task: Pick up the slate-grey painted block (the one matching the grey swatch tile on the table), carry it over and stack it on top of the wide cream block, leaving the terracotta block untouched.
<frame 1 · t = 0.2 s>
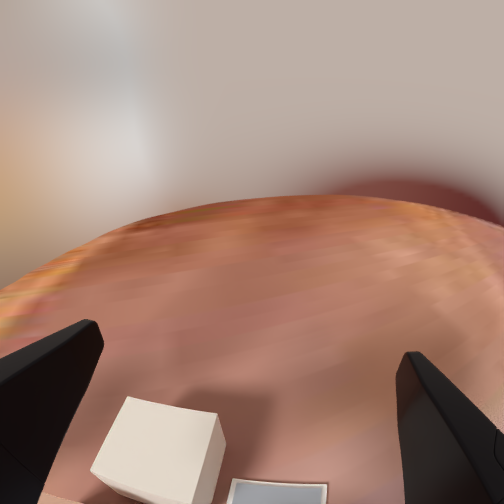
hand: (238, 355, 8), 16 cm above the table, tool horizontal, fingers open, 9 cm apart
cream block: (173, 472, 18), on the table
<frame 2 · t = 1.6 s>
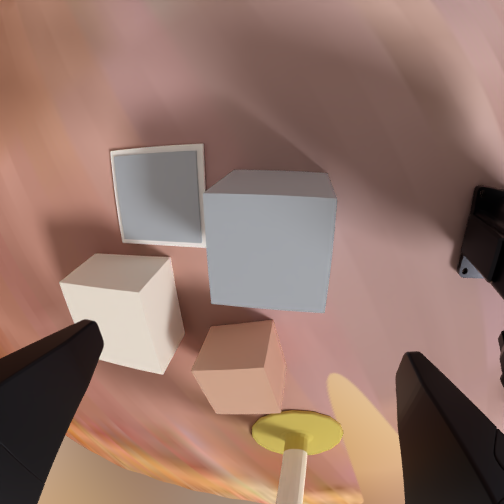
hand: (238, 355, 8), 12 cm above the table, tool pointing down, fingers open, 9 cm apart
swatch tile: (158, 197, 19), on the table
terracotta block: (250, 346, 23), on the table
grey block: (279, 214, 19), on the table
cream block: (140, 293, 23), on the table
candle: (297, 433, 28), on the table
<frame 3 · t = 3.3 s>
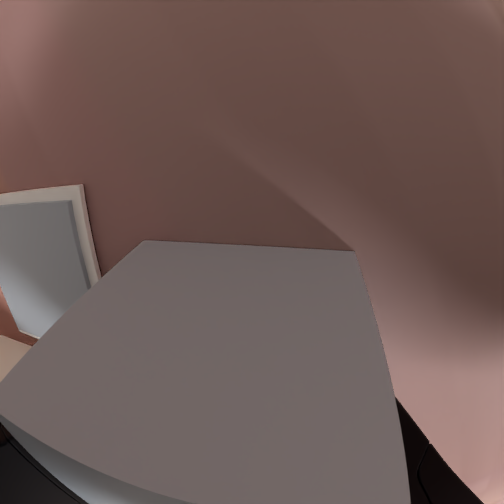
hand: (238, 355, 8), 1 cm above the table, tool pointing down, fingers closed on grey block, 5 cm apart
swatch tile: (39, 277, 9), on the table
grey block: (245, 331, 9), on the table, touching gripper
cream block: (61, 390, 13), on the table
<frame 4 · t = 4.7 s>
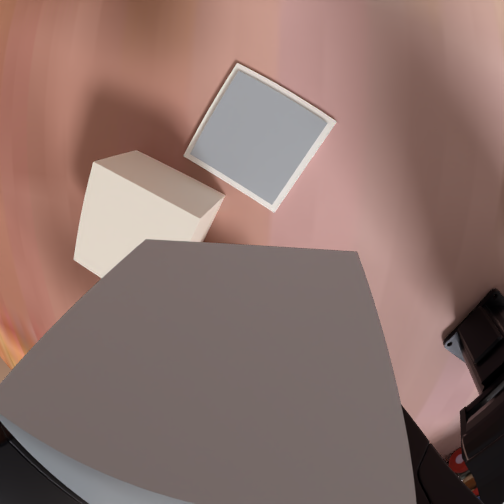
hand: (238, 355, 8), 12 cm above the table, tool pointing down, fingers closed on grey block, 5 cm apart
swatch tile: (256, 136, 17), on the table
grey block: (246, 331, 9), point 11 cm above the table, touching gripper
toy fire truck: (451, 458, 29), on the table
cream block: (162, 214, 21), on the table
when the fingers open (7 cm above the table, at t = 6.3 s): grey block drops 2 cm, resting on cream block.
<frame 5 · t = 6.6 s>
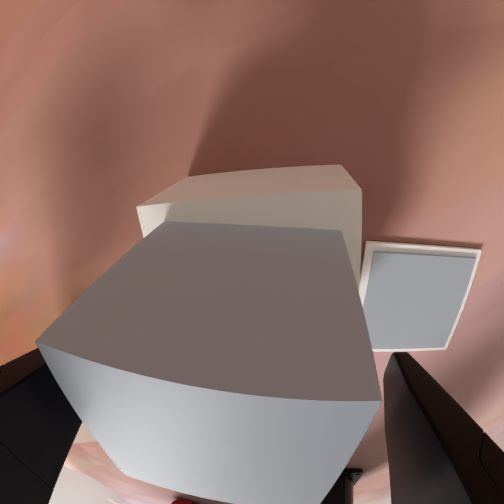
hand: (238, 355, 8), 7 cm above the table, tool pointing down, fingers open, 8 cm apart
swatch tile: (414, 302, 15), on the table
grey block: (249, 302, 10), point 5 cm above the table, touching cream block
cream block: (269, 240, 15), on the table, touching grey block
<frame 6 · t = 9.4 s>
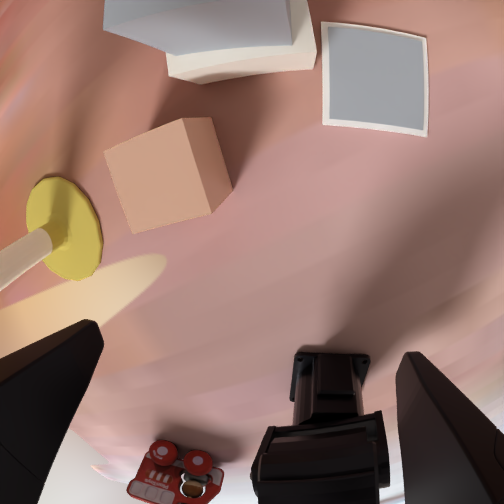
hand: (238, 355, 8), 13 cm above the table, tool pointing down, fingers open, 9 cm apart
swatch tile: (377, 77, 15), on the table
terracotta block: (187, 164, 19), on the table
toy fire truck: (187, 453, 37), on the table
cream block: (248, 26, 15), on the table
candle: (62, 229, 23), on the table
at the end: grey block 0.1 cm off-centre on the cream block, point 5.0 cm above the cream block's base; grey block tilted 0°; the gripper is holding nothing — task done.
